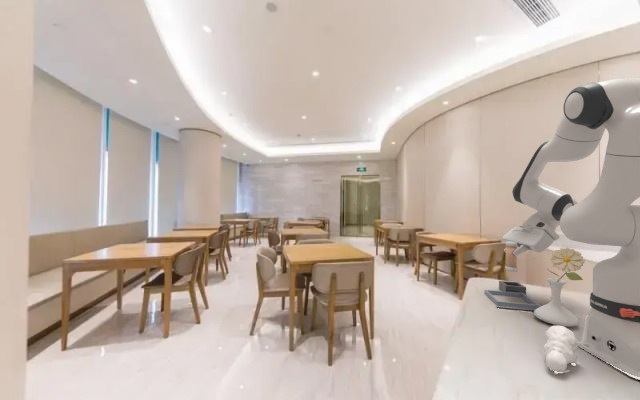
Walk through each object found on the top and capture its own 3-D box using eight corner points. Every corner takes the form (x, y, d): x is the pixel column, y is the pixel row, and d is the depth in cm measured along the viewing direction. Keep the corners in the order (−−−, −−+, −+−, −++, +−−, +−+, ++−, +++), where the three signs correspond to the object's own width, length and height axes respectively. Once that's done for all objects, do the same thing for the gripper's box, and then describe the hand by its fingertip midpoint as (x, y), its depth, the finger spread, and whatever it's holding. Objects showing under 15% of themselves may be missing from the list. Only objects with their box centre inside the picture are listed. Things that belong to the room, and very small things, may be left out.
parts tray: (541, 312, 100) (541, 305, 100) (497, 308, 103) (497, 301, 103) (522, 299, 113) (522, 292, 113) (484, 295, 116) (484, 289, 116)
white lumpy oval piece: (579, 327, 69) (573, 349, 61) (579, 360, 69) (573, 387, 61) (546, 319, 73) (537, 338, 65) (546, 350, 74) (537, 373, 66)
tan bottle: (518, 271, 106) (519, 242, 106) (507, 271, 107) (507, 242, 107) (514, 269, 109) (514, 241, 109) (503, 268, 110) (504, 240, 110)
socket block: (526, 298, 114) (526, 287, 114) (505, 296, 116) (505, 285, 116) (517, 292, 121) (518, 282, 121) (498, 290, 123) (498, 280, 123)
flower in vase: (526, 318, 95) (527, 244, 95) (546, 313, 99) (547, 242, 99) (573, 335, 83) (574, 251, 83) (593, 329, 87) (595, 249, 87)
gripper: (513, 220, 118) (489, 243, 119) (550, 225, 97) (520, 252, 98) (524, 231, 118) (500, 253, 118) (563, 238, 97) (533, 265, 98)
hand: (509, 253), depth 108 cm, fingers closed on tan bottle, 3 cm apart
